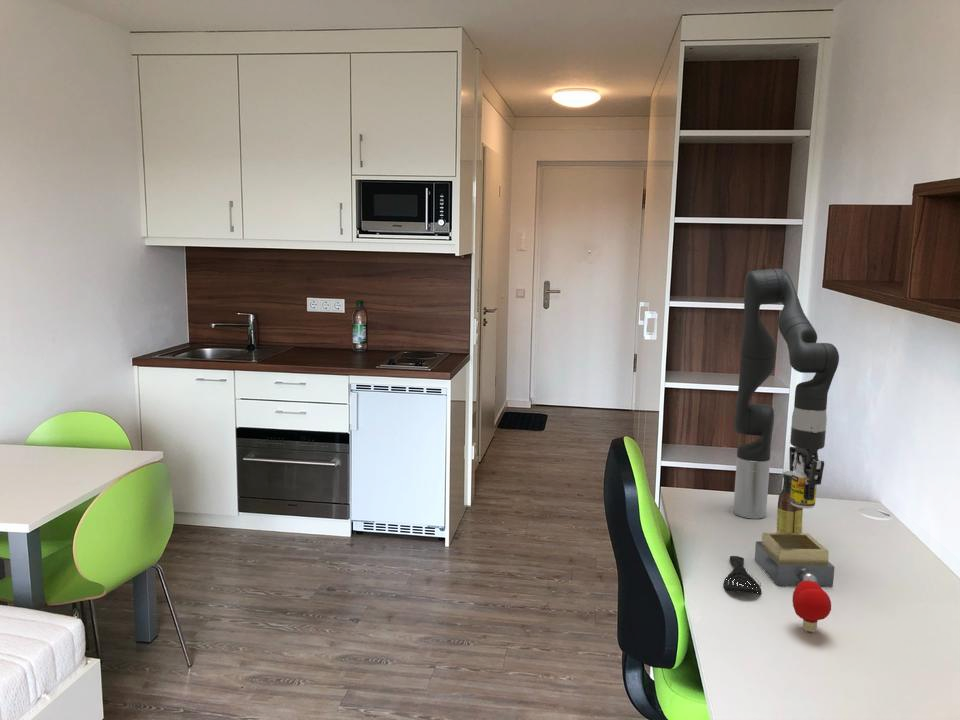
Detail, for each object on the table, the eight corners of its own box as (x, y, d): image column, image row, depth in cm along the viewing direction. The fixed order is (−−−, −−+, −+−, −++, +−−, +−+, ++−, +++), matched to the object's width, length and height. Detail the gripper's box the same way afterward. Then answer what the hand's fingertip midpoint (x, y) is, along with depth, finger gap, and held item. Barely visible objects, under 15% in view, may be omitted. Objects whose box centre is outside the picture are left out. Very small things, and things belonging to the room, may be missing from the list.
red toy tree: (783, 620, 161) (787, 575, 160) (817, 621, 161) (821, 576, 160) (800, 642, 152) (804, 595, 151) (836, 644, 152) (840, 596, 150)
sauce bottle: (796, 541, 206) (802, 470, 203) (804, 550, 200) (810, 476, 197) (771, 539, 206) (777, 469, 204) (778, 548, 200) (783, 475, 197)
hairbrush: (753, 550, 193) (765, 587, 169) (752, 564, 193) (764, 603, 169) (719, 546, 195) (725, 582, 171) (718, 560, 195) (725, 598, 171)
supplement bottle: (784, 503, 184) (788, 462, 182) (799, 500, 187) (803, 459, 185) (805, 510, 179) (808, 468, 178) (820, 507, 182) (823, 465, 181)
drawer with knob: (754, 560, 193) (756, 529, 192) (806, 560, 193) (808, 530, 191) (781, 591, 175) (784, 558, 174) (838, 592, 175) (841, 559, 174)
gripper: (780, 419, 187) (775, 486, 190) (805, 433, 173) (800, 505, 175) (811, 420, 187) (805, 486, 190) (838, 434, 173) (832, 505, 176)
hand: (803, 495), depth 183 cm, fingers closed on supplement bottle, 5 cm apart
